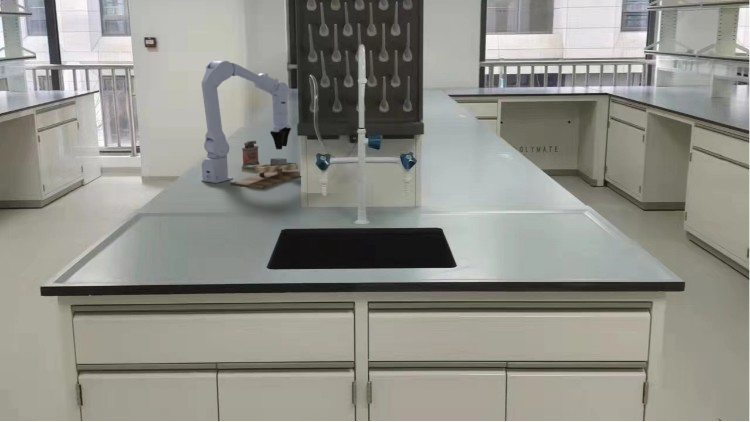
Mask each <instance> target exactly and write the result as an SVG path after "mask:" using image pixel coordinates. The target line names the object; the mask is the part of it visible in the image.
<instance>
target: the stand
mask: <svg viewBox="0 0 750 422" xmlns="http://www.w3.org/2000/svg"><path fill="white" fill-rule="evenodd" d="M300 171H301V170H286V171H282V168H280V169H277V172H268V173H258V174H256V175H252V176H248V177H247V178H243V179H242V178H241V179H239V180H237V181H231V182H230V185H231V186H234V187H235V186H236V187H237V186H238V187H245V188H252V189H259V190H263V189H266V188H269V187H270V188H271V187H273V186H276V185H278V183H279V184H281V182H282V183H285V182H288V180H289V181H292V180H295V179H297V177H298V178H301V177H300ZM294 178H295V179H294ZM291 179H292V180H291ZM284 181H285V182H284Z"/></svg>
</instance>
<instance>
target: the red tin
mask: <svg viewBox="0 0 750 422" xmlns="http://www.w3.org/2000/svg"><path fill="white" fill-rule="evenodd" d="M243 144H244V147H241V151H242V166H252V165H260V162H259V145H255V144H257V140H251V141H250V140H248V141H246V142H244V143H243Z"/></svg>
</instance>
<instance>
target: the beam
mask: <svg viewBox="0 0 750 422" xmlns="http://www.w3.org/2000/svg"><path fill="white" fill-rule="evenodd" d="M280 168H282V171H286V170H294V171H296V170H298V168H299V164H298V163H295V162H288V161H287V165H280V166H270V163H266V164H264V163H263V164H257V165H252V166H243V165H242V166H241V173H248V174H249V173H250V174H256V175H259V173H268V172H277V169H280Z"/></svg>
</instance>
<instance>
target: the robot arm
mask: <svg viewBox="0 0 750 422" xmlns="http://www.w3.org/2000/svg"><path fill="white" fill-rule="evenodd" d="M236 76H238V77H240V78H242V79H245V80H247V81H250V82H252V83H253V84H254V86H255V87H256V88H257V89H259V90H262V91H263V92H266V93H268V94H270V95H271V97H272V123H273V124H272V127H273V130H271V131H270V135H271V137H272V140H273V142H274V146H275V150H282V149H283V147H287V145H288V141H289V140H288V139H289V136H290V133H291V130H292V128H291V126H292V124H291V123H289V118H288V117H289V115H288V114H289V111H288V97H289V94H290V92H291V89H290V88H289V85H288V84H287V83H286V82H282V81H279V79H278V78H273V77H271V76H269V74H268V73H267V72H266V73H265V72H264V73H261V72H260V73H259V74H257V73H255V72H253V71H251V70H249V69H247V68H245V67H243V66H241V65H239V64H237V63H235V62H230V61H228V60H218V59H214V60H212V61H210V62H209V63H208V64H207V65H206V66H205V72H204V76H203V77H202V81H201V89H202V99H203V105H204V106H203V107H204V113H205V121H206V122H205V123H206V128H207V132H206V133H205V141H204V144H203V145H204V150H205V151H206V152H207V155H206V158H205V159H203V161H202V163H201V175H202V177H201V178H202V179H200V181H201V182H206V183H207V182H208V183H215V184H218V183H222V182H226V181H229V180H233V179H234V177H232V176H229V170H228V169H229V168H228V166H229V165H228V154H229V152H230V144H229V142H228V141H227V138H226V137H227V136H226V134H225V133H224V131H223V126H222V118H221V117H222V116H221V108H220V103H219V102H220V101H219V91H218V87H219V86H220V85H221V84H222V83H223V82H224V81H226V80H228V79H230V78H231V77H236Z"/></svg>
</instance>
